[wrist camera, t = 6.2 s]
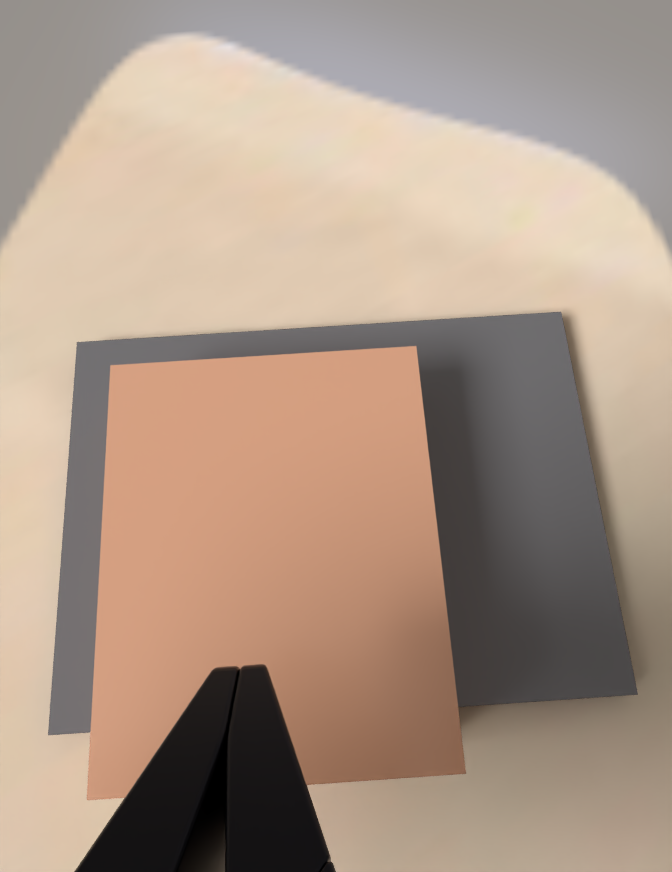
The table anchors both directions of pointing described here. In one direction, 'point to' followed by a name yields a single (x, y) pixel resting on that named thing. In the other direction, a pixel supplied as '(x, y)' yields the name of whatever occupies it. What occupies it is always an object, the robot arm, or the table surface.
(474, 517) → the mat
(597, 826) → the table surface
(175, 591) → the tile
